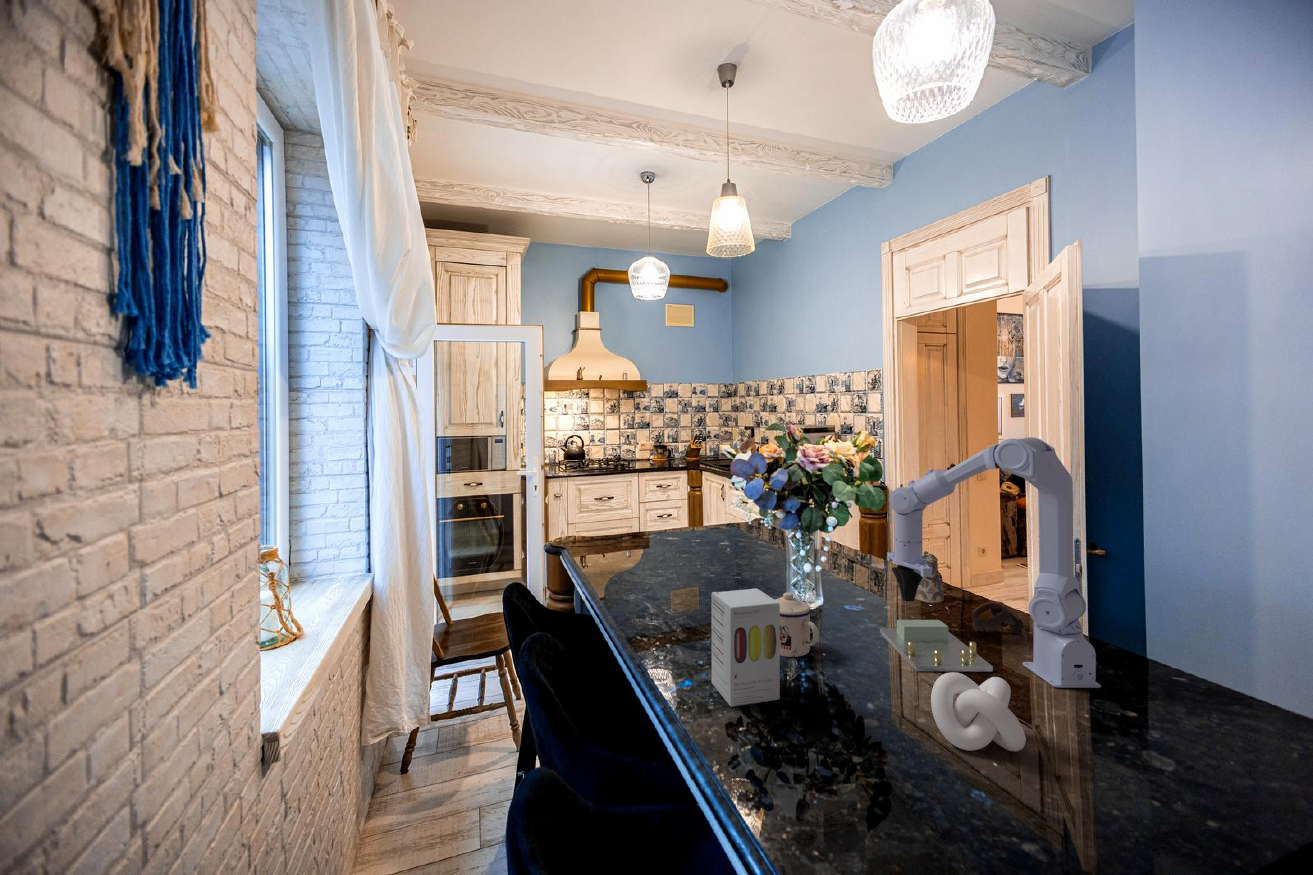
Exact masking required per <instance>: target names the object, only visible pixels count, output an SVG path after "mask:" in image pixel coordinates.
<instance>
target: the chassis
mask: <svg viewBox="0 0 1313 875" xmlns="http://www.w3.org/2000/svg"><path fill="white" fill-rule="evenodd" d="M879 633H880V634H881V635H882V637H883V638H884V639H885V640H886V641H887V642H888V643H889V644H890V645H891V646H892V648H894V649H895V651H897V652H898V654H899V655H900V656H901V657H902V658H903V659H904V660H905V661H906V662H907V663H908V665H910V666H911V667H912V669H914V671H915V672H941V673H942V672H945V673H951V672H955V673H960V672H961V673H962V672H965V673H966V672H967V673H968V672H969V673H971V672H972V673H974V672H975V673H977V672H979V673H982V672H983V673H985V672H986V673H988V672H989V673H991V672H992V673H993V671H994V666H993V665H992V664H991V663H989V662H988V661H987V660H985V659H984V658H983V657H982V656H980V655H979V654H977V642H976V641H969V642H968V645H966V644H965V643H964V642H963V641H961V640H960V639H959V638H957V636H955V635H954V634H953V633H951V632H950V631H948V641H904V640H903V639H902V638H901V637H900V636H899V635H898V634H897V627H896V628H892V627H891V628H888V627H886V628H885V627H884V628H882V627H881V628H879Z"/></svg>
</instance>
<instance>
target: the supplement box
mask: <svg viewBox="0 0 1313 875" xmlns="http://www.w3.org/2000/svg"><path fill="white" fill-rule="evenodd" d="M780 657H781V656H780V603H779V602H777V601H776V600H775V599H774V597H771V596H769V595H768V594H767V593H765V592H763V591H762V590H760V589H758V588H756V587H755V588H749V589H737V590H728V591H712V592H711V684H712V685H713V686H714V688H715V689H716V690H717V691H718V693H719V694H720V696H721V697H723V699H724V701H725V702H726V703H727V704H728V705H729V706H730V707H731V708H733V707H738V706H745V705H750V704H757V703H763V702H770V701H772V702H773V701H777V700H780V698H781V696H780V695H781V694H780V687H781V686H780V685H781V684H780V682H781V681H780V680H781V679H780V678H781V675H780V673H781V672H780V668H781V667H780V661H781V658H780Z"/></svg>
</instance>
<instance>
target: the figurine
mask: <svg viewBox="0 0 1313 875" xmlns="http://www.w3.org/2000/svg"><path fill="white" fill-rule="evenodd" d="M922 558H924V559H926V560H927V563H926V564H927V565H928V566H929V567H931V568H932V577H923V579H922V580H921V582H920V584H919V586H918V589H917V592H916V596H915V599H916V600H918V601H921V602H925V603H934V604H936V603H943V602H944V600H945V596H944V595H945V594H944V583H943V582H944V580H943V576H942V574H941V573H940V571H939V566H938V560H939V559H938V558H937V557H936V556H935V555H934V554H933V553H929V552H928V551H923V554H922ZM915 599H914V600H915ZM942 601H943V602H942Z"/></svg>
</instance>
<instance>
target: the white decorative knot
mask: <svg viewBox="0 0 1313 875" xmlns="http://www.w3.org/2000/svg"><path fill="white" fill-rule="evenodd" d="M1011 693H1012V692H1011V687H1010V685H1009V683H1008V682H1007V680H1005V679H1003V678H1002V677H999V676H992V677H990V678H987V679H986V680H984V682H982V683H981V684H980V685H978V684H977V683H976V682H975V681H973V680H972V679H971V678H969V677H968V676H967V675H965V674H963V673H960V672H945V673H944V674H941V675H940V676H939V677H938V678H937V679H936V680H935V682H934V684H933V687H932V690H931V697H930V705H931V712H932V716H933V719H934V721H935V724H936V726H937V728H938V730H939V731H940V733H941V734H942V735H943V737H944V738H945V739H946V740H947V741H948V742H949V743H950V744H951V745H953V746H954V747H956V748H959V749H960V750H964V751H971V752H973V751H978V750H980V749H984V748H985V747H987V746H988V745H989V744H990V743H991V742H992V741H994V742H995V743H996V745H998V746H1000V747H1001V748H1003V749H1004V750H1006V751H1008V752H1019V751H1020V750H1022V749H1024V748H1025V744H1026V741H1027V738H1026V735H1025V734H1026V733H1025V731H1024V728H1023V727H1022V724H1021V723H1020V721H1019V719H1018V718H1017V716H1015V714H1014V713H1013V711H1012V710H1011V709H1009V707H1008V706H1009V702H1010V700H1011V695H1012V694H1011ZM957 694H958V695H959V696H957V698H956V700H955V701H954V698H955V695H957ZM953 701H954V703H953Z"/></svg>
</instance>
